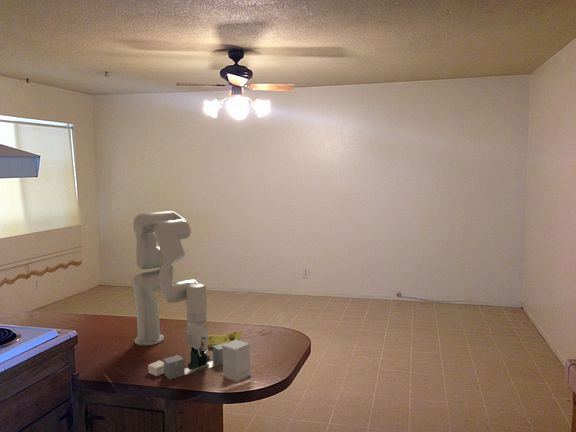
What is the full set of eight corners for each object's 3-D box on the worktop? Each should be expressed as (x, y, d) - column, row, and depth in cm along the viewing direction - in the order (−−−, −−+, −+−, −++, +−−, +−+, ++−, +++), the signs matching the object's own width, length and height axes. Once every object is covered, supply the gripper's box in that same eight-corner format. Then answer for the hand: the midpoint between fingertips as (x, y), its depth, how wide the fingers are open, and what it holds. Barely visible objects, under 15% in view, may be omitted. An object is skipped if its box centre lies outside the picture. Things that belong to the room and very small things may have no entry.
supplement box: (251, 376, 173) (250, 343, 172) (236, 384, 167) (235, 349, 166) (237, 371, 178) (236, 339, 176) (222, 378, 172) (221, 344, 171)
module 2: (213, 360, 186) (212, 345, 186) (226, 356, 190) (226, 342, 189) (219, 364, 182) (218, 349, 181) (232, 360, 185) (232, 346, 185)
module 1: (164, 374, 175) (163, 358, 174) (179, 370, 178) (178, 354, 178) (169, 379, 171) (168, 363, 170) (184, 374, 174) (184, 359, 173)
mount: (203, 357, 186) (203, 345, 185) (212, 359, 184) (212, 347, 183) (184, 368, 177) (184, 355, 176) (193, 370, 174) (193, 357, 174)
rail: (164, 376, 175) (164, 374, 175) (226, 358, 190) (226, 356, 190) (169, 381, 171) (169, 379, 171) (232, 362, 186) (232, 360, 186)
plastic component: (194, 344, 200) (201, 327, 208) (199, 356, 204) (206, 339, 212) (238, 343, 195) (243, 326, 204) (242, 356, 199) (247, 338, 207)
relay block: (148, 375, 177) (148, 364, 176) (159, 370, 181) (159, 360, 180) (156, 378, 174) (156, 368, 173) (167, 373, 177) (167, 363, 177)
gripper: (178, 313, 183) (180, 357, 185) (197, 324, 169) (199, 373, 171) (196, 309, 187) (198, 353, 189) (216, 320, 173) (218, 367, 175)
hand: (198, 362), depth 180 cm, fingers closed on mount, 5 cm apart
